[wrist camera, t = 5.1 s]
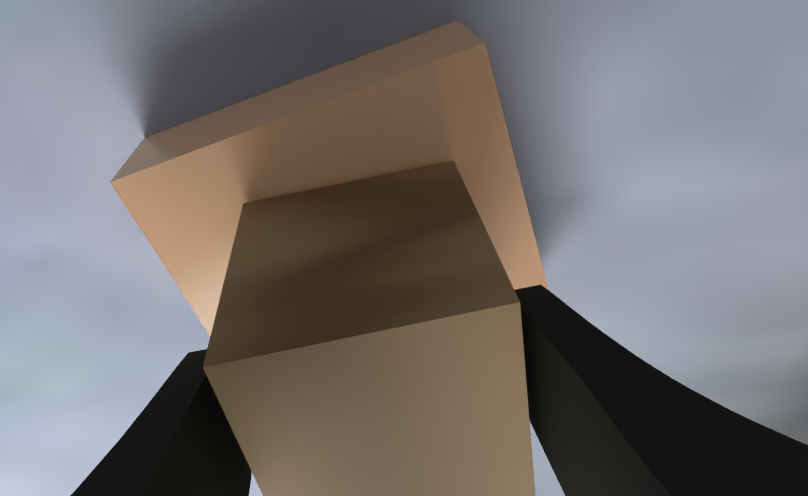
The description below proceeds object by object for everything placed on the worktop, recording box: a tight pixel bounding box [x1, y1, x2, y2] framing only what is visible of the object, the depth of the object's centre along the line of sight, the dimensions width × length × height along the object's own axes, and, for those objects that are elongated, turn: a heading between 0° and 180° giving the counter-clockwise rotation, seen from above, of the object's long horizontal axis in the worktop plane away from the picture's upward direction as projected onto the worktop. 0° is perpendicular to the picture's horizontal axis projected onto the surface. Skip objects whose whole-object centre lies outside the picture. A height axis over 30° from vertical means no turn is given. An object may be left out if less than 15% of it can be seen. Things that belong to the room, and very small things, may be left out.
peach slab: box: [110, 20, 548, 336], centre depth 15 cm, size 8×8×3 cm
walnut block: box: [203, 161, 535, 496], centre depth 12 cm, size 4×4×5 cm
